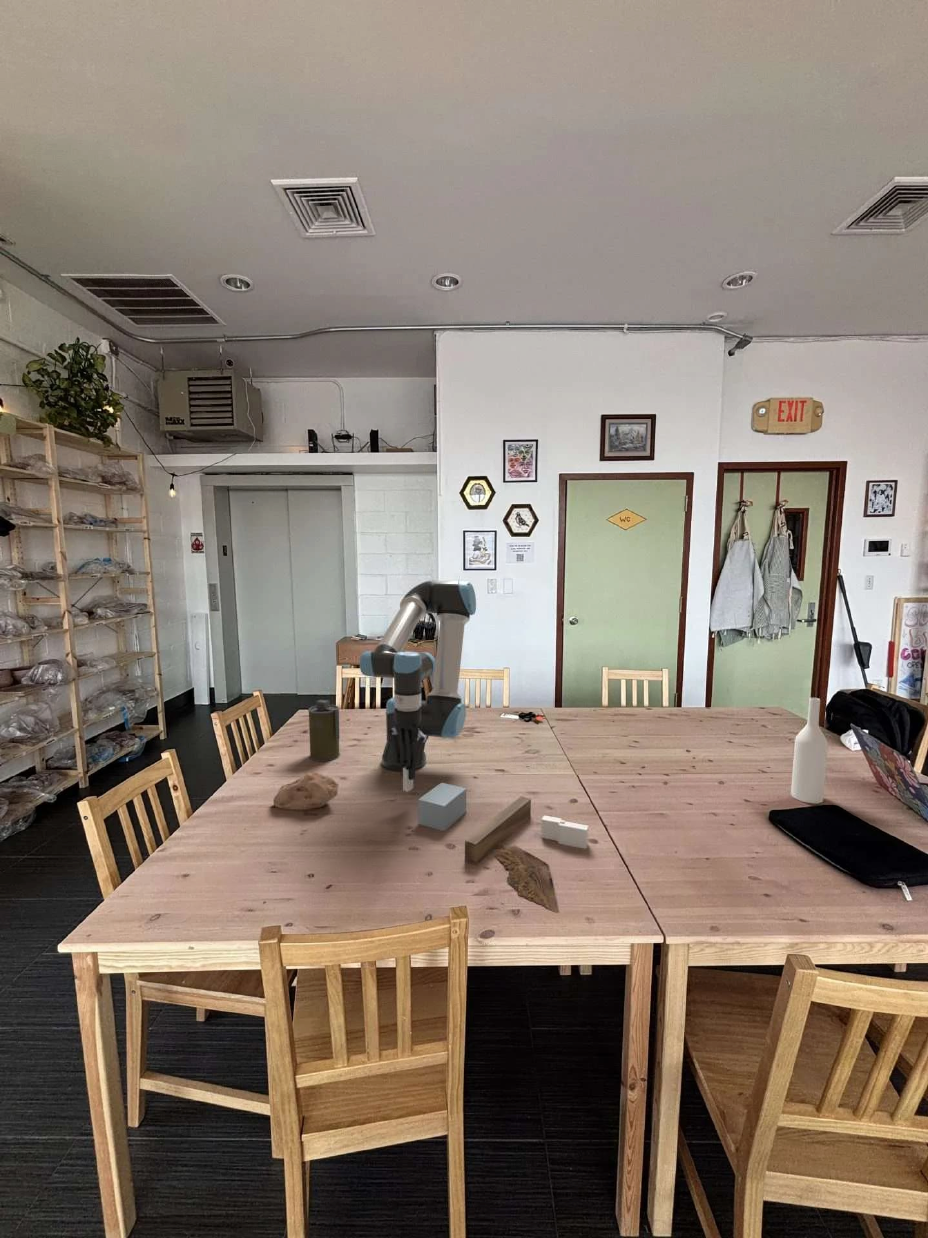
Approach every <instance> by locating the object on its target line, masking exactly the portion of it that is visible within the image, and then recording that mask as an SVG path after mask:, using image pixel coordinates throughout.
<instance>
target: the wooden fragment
mask: <svg viewBox="0 0 928 1238" xmlns="http://www.w3.org/2000/svg"><path fill="white" fill-rule="evenodd" d="M494 858H496V859H497V860H499V862H500V863H501V864H503V865H502V866H503V867H504V869H505V870H507V871H508V876H507V877H506V880H507V882H508V884H509V885H511V887H512V888H514V889H515V890H516V891H517V895H518V896H519V897H521V898H523V899H525V900H527V901H530V902H533V903H535V904H538V905H540V906H542V907H545V908H546V910H548V911H550V912H553V913H560V910H559V905H558V900H557V897H556V891H555V887H554V886H555V885H554V882H553V877H552V874H551V873H552V872H551V869H550V868H551V867H550V865H549V864H548V863H547V862H545V861H543V860H542V859H540V858H538V857H537V856H535V855H533V854H532V853H530V852H528V851H526V850H524V849H522V848H521V847H519V846H518V845H516V844H515V843H514V844H512V845H509V846H507V847H506V848H504V849H503V850H500V851H498V852H497V854H496V855H495V856H494Z"/></svg>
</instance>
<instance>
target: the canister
mask: <svg viewBox="0 0 928 1238" xmlns="http://www.w3.org/2000/svg"><path fill="white" fill-rule="evenodd" d="M315 703H316V705H313V706H310V707H309V708H308V709H307V711H308V725H309V727H308V728H309V731H308V732H309V759H310V760H312V761H313V762H314V761H315V762H330V761H332V760H336V759H338V758H339V757H340V756H341V755H340V754H341V753H340V713H339V712H340V709H339V706H338V705H336V704H335V705H334V704H330V700H329V699H328V700H326V699H325V700H324V699H319V700H317V701H315Z"/></svg>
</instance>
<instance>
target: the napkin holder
mask: <svg viewBox="0 0 928 1238" xmlns="http://www.w3.org/2000/svg"><path fill="white" fill-rule="evenodd" d="M540 835H541V837H540V838H542V839H546V840H552V841H557V843H558V844H559V845H565V846H569V847H575V848H579V849H580V848H581V849H584V850H587V847H588V845H589V844H588V843H589V825H586V824H580V823H576V822H569V821H566V820H565V819H562V818H560V817H554V816H548V815H543V817H542V818H541V833H540Z"/></svg>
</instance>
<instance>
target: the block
mask: <svg viewBox="0 0 928 1238" xmlns="http://www.w3.org/2000/svg"><path fill="white" fill-rule="evenodd" d="M417 800H418V804H417V805H418V809H417V810H418V825H420V826H421V825H422V826H426V827H429V828H433V829H435V830H439V831H443V832H445V831H446V830H447V829H449V828H450V827H451V826H452V825H453V824H454V823H456V821H458V820H459V819H460V818H462V816H463V815H464V814H466V813H467V787H461V786H458V785H457V786H456V785H454V784H448V783H445V782H441V783H439V784H438V785H436V786H435V787H434V788H432V789H431V790H429V791H428V792H427V793H425V794H424V795H423V796H421V797H420V798H418V799H417Z"/></svg>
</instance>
